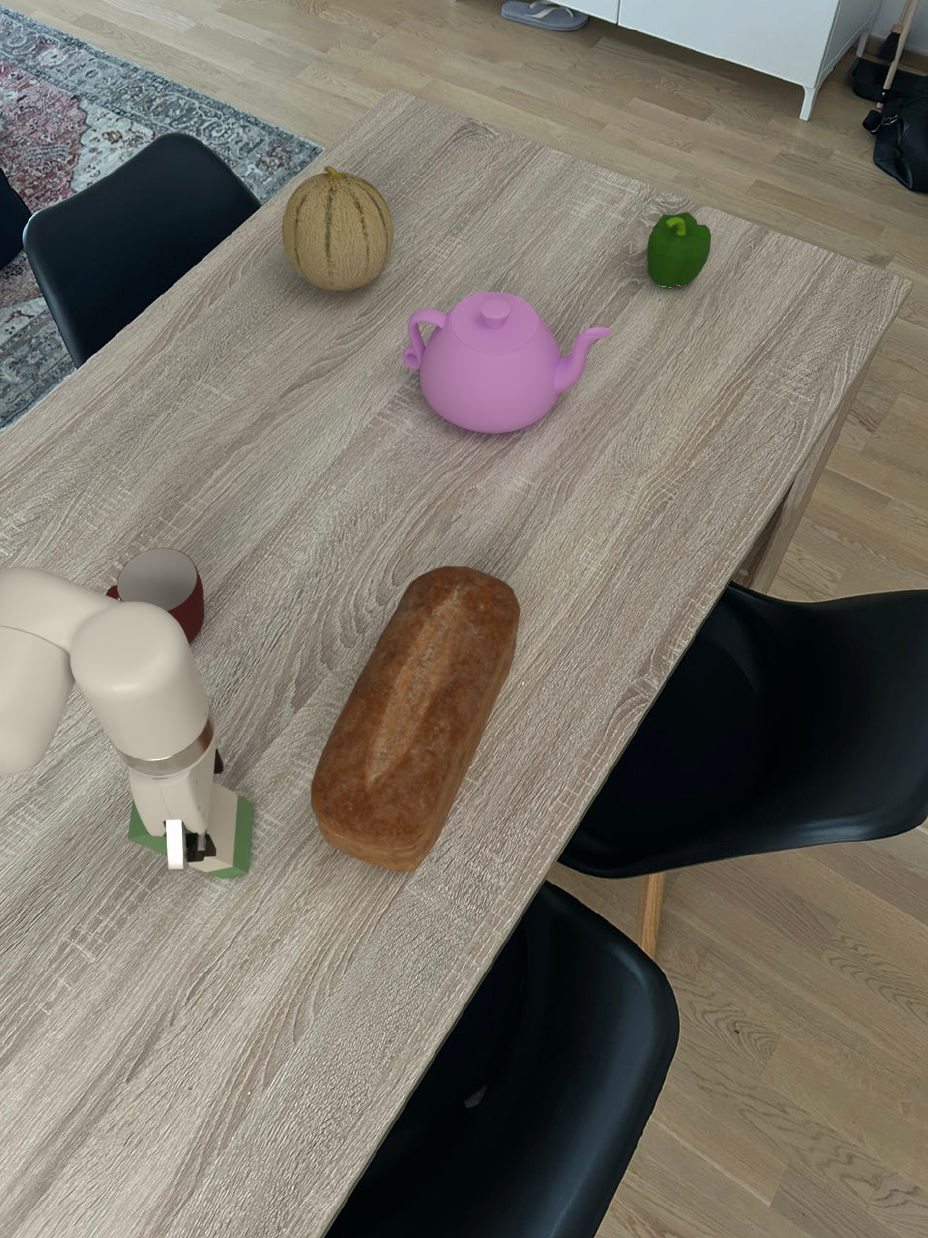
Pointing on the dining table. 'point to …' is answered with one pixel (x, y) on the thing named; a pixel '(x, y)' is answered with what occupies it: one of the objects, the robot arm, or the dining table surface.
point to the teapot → (493, 362)
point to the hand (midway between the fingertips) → (202, 810)
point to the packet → (212, 834)
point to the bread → (416, 718)
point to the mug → (164, 586)
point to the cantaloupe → (337, 231)
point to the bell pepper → (677, 250)
